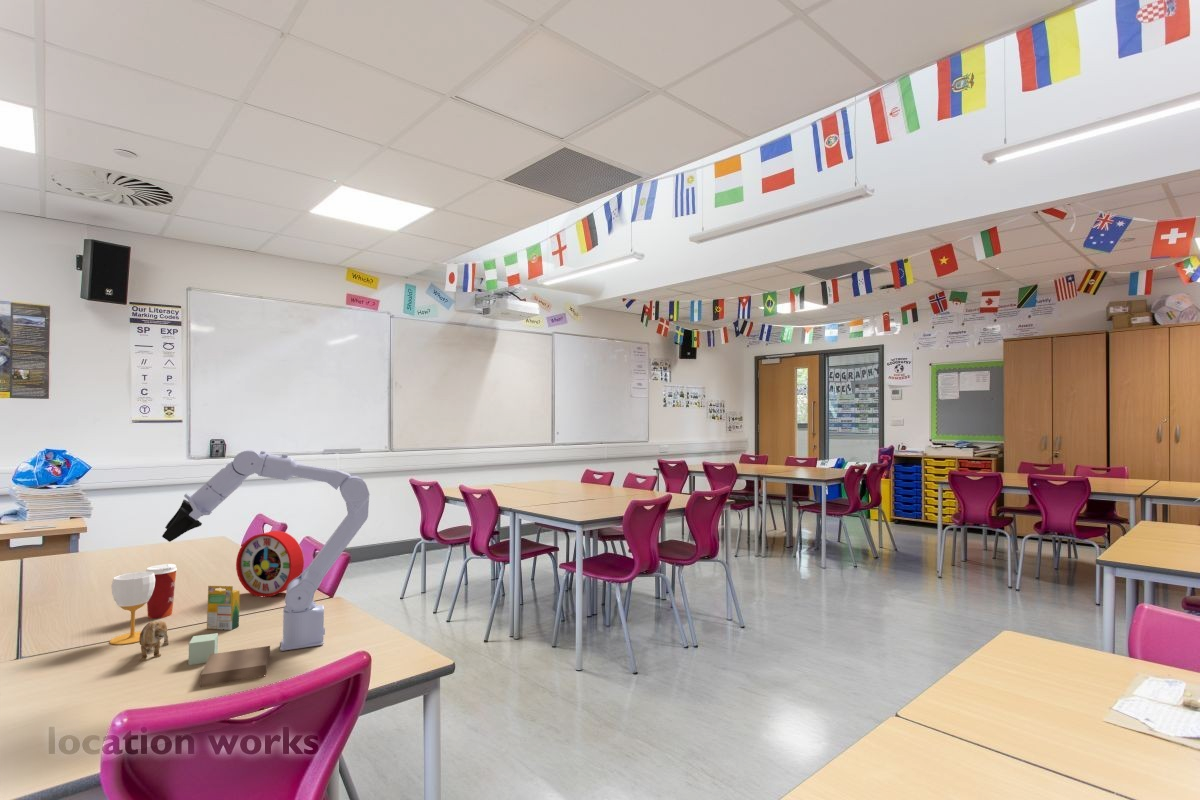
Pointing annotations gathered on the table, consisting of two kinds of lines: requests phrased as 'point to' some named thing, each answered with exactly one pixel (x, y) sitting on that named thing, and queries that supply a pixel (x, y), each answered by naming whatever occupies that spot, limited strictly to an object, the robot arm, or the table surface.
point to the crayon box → (222, 608)
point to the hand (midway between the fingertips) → (167, 534)
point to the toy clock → (269, 563)
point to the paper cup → (162, 591)
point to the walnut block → (235, 666)
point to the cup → (132, 599)
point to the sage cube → (202, 648)
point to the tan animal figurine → (153, 638)
